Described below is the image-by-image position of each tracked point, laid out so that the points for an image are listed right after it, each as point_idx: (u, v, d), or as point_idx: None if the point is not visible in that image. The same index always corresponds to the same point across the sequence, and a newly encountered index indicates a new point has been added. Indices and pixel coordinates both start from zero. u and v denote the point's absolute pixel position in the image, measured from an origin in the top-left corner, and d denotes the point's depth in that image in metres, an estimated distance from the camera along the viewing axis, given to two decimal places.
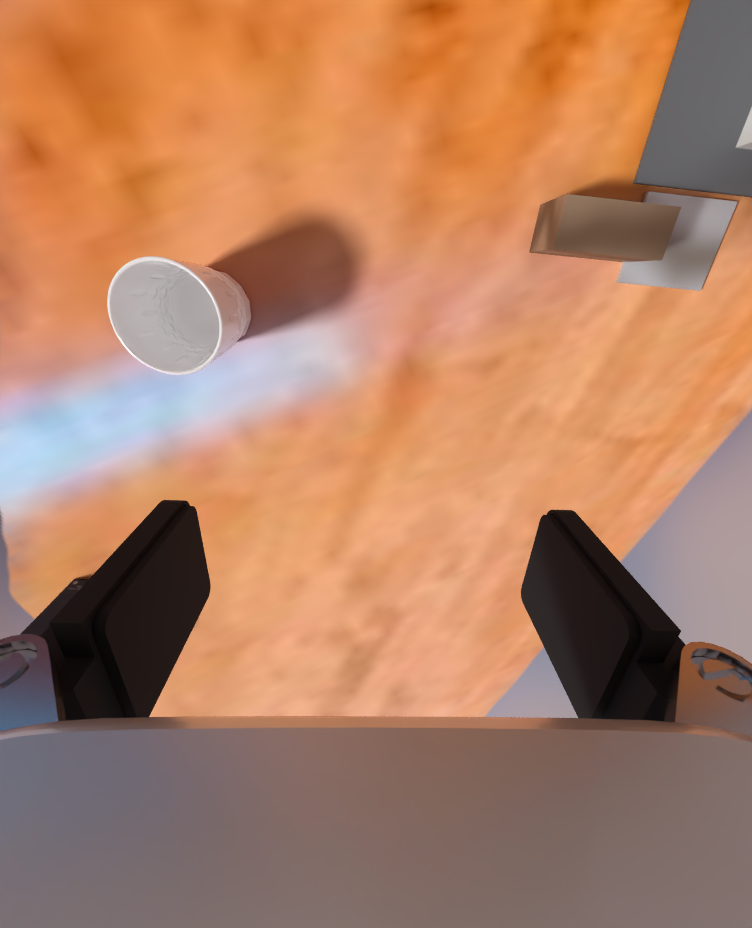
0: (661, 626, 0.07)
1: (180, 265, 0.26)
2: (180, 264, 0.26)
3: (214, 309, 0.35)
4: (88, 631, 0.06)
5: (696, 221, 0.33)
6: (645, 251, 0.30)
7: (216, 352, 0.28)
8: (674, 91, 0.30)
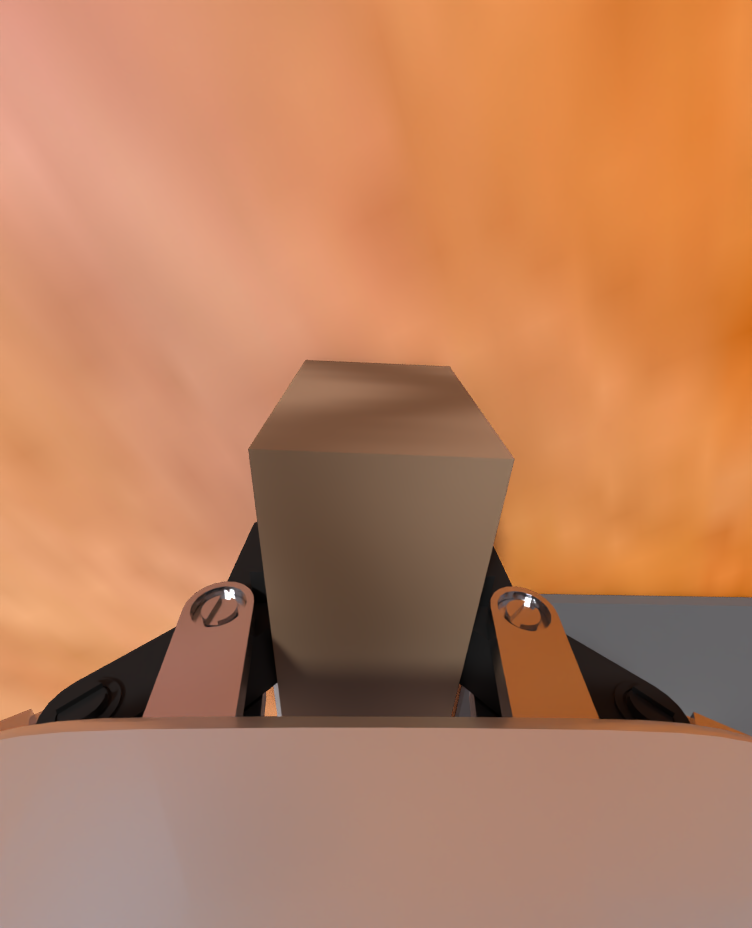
0: None
1: None
2: None
3: None
4: None
5: None
6: None
7: None
8: (645, 619, 0.14)
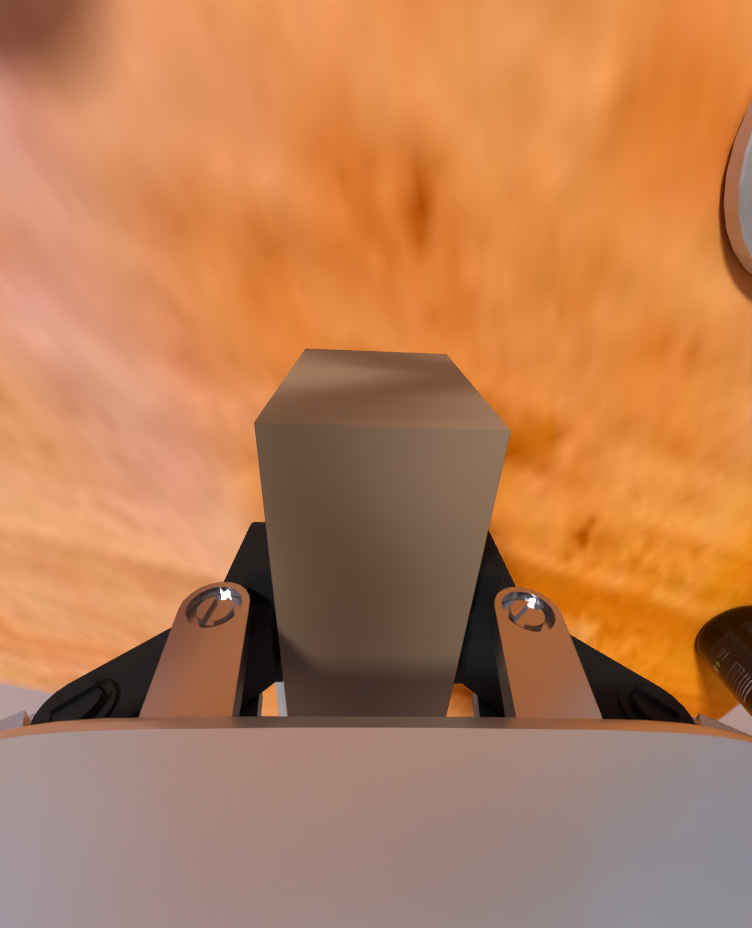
0: (484, 573, 0.08)
1: None
2: None
3: None
4: None
5: None
6: None
7: None
8: None
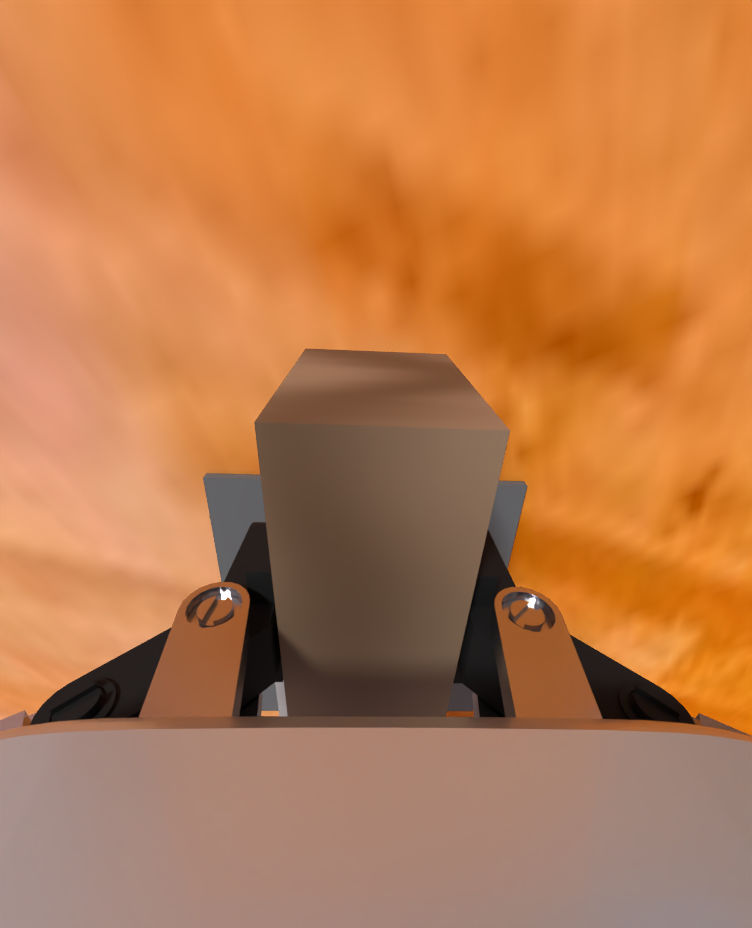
0: (484, 573, 0.08)
1: None
2: None
3: None
4: None
5: None
6: None
7: None
8: None
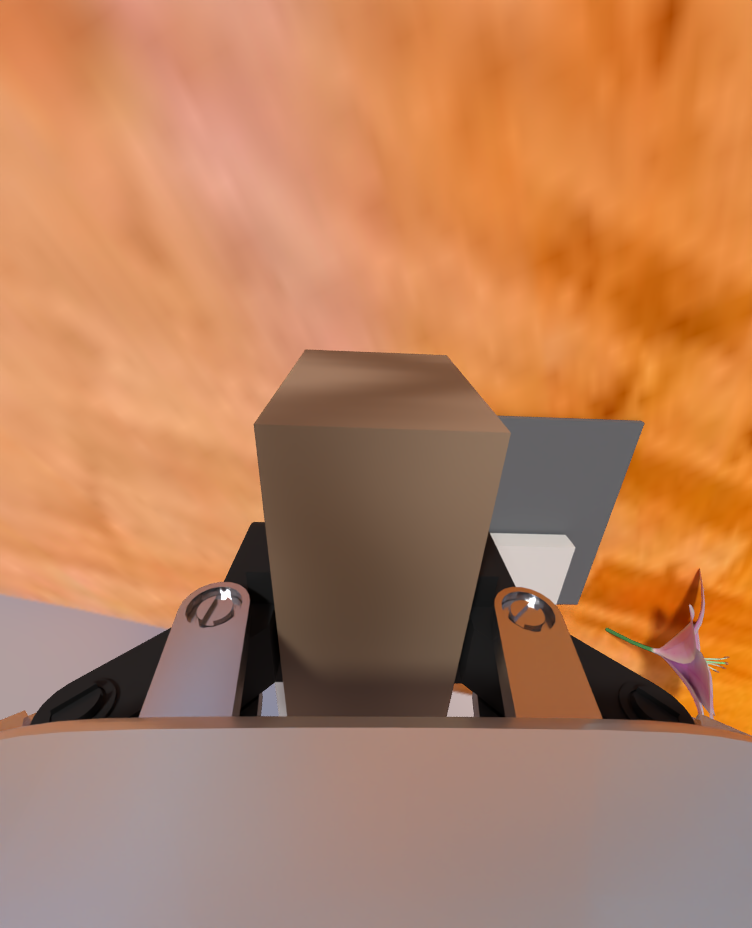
0: (484, 573, 0.08)
1: None
2: None
3: None
4: None
5: None
6: None
7: None
8: (518, 429, 0.25)
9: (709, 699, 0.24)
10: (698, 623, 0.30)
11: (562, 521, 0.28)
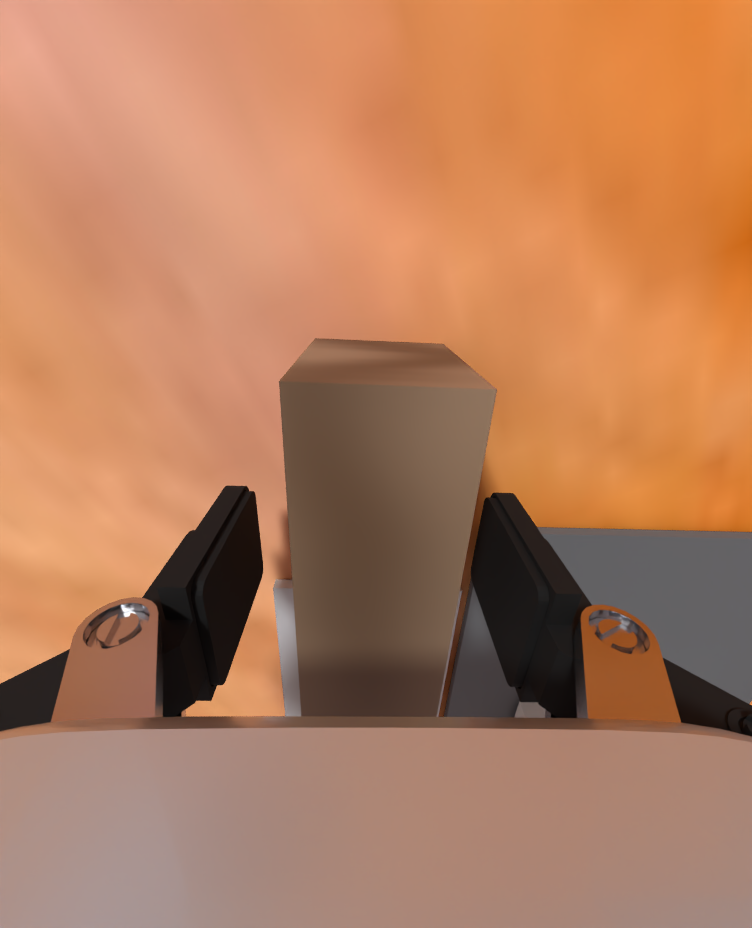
0: (566, 590, 0.07)
1: None
2: None
3: None
4: (188, 595, 0.07)
5: None
6: (319, 679, 0.09)
7: None
8: (642, 553, 0.14)
9: None
10: None
11: None
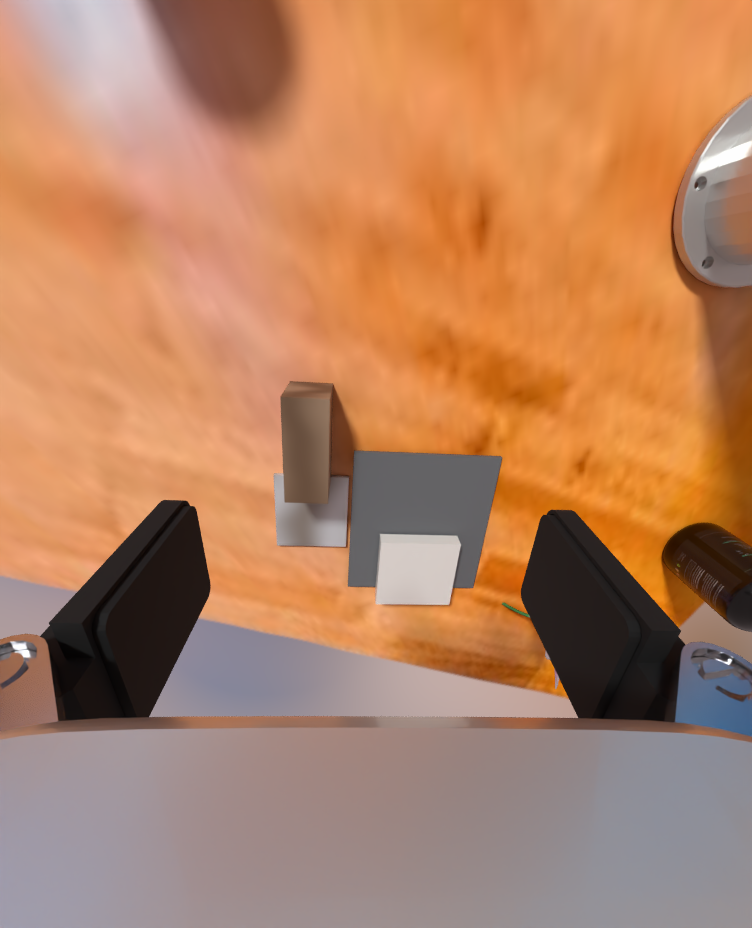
0: (661, 626, 0.07)
1: None
2: None
3: None
4: (88, 631, 0.06)
5: (329, 522, 0.38)
6: (290, 486, 0.31)
7: None
8: (416, 461, 0.36)
9: None
10: None
11: (454, 526, 0.39)
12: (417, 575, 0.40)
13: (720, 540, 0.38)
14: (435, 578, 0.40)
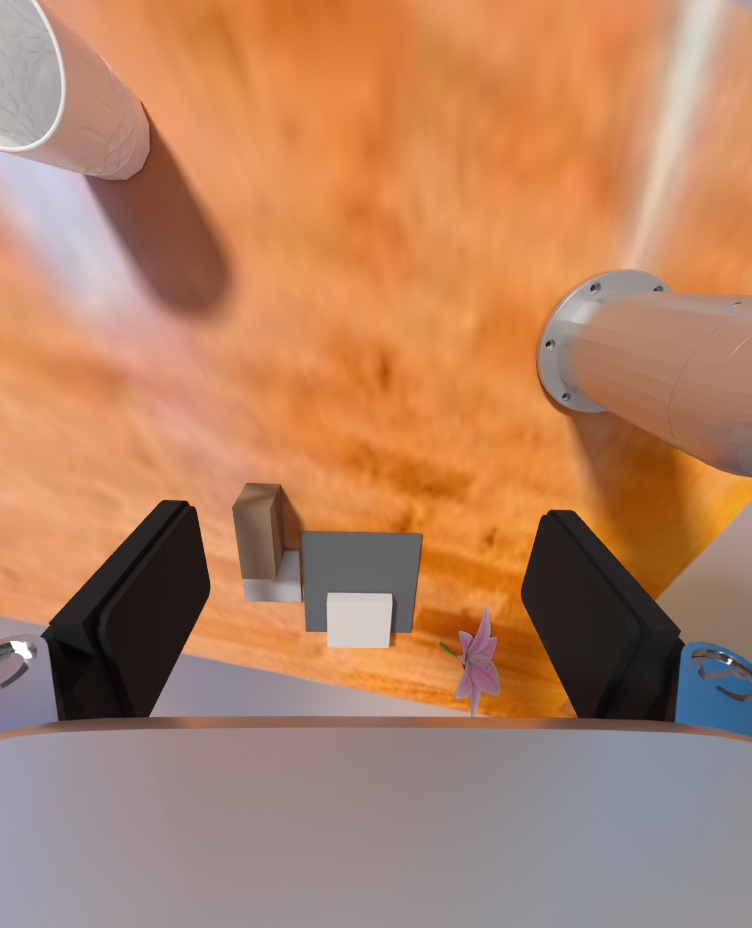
0: (661, 626, 0.07)
1: (63, 97, 0.20)
2: (65, 98, 0.20)
3: None
4: (88, 631, 0.06)
5: (286, 583, 0.47)
6: (245, 567, 0.40)
7: None
8: (351, 539, 0.45)
9: (459, 685, 0.44)
10: (484, 639, 0.50)
11: (389, 586, 0.48)
12: (359, 625, 0.48)
13: None
14: (374, 628, 0.49)
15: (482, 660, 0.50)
